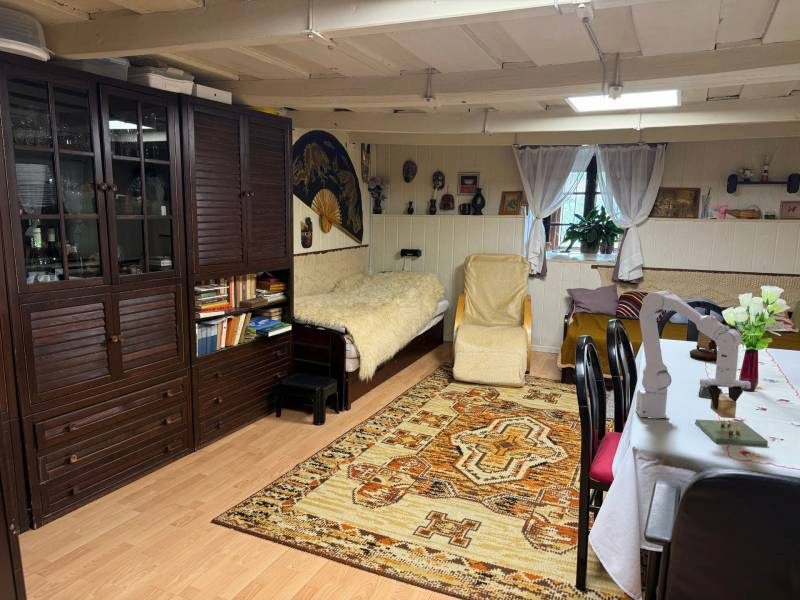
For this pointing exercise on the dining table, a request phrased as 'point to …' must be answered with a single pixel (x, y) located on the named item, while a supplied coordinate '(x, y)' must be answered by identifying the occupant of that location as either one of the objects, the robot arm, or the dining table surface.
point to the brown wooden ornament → (706, 344)
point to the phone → (705, 392)
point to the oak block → (725, 407)
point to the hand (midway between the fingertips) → (722, 408)
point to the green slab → (731, 432)
